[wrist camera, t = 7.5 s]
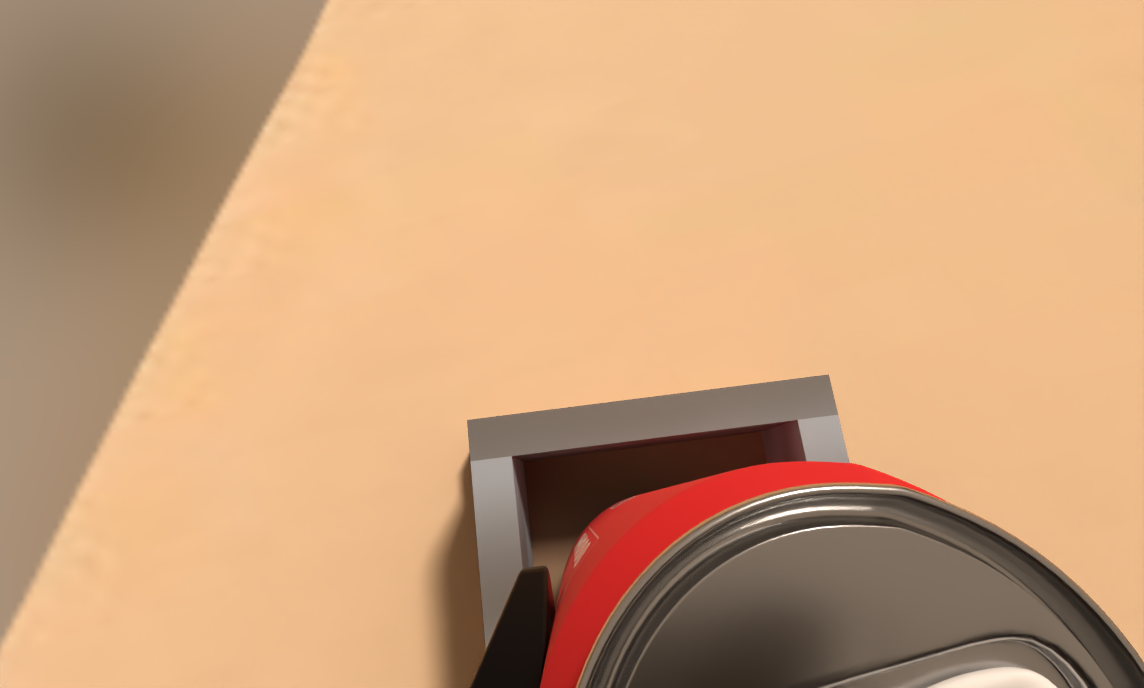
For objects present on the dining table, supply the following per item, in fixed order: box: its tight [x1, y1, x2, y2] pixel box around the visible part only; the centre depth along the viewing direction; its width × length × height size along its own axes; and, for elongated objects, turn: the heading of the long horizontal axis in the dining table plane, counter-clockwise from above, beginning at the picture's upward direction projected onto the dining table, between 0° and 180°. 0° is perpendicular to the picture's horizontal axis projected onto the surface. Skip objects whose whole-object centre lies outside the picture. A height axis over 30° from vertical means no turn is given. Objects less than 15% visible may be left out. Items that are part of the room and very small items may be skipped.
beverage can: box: [540, 461, 1144, 688], centre depth 10 cm, size 5×5×12 cm
